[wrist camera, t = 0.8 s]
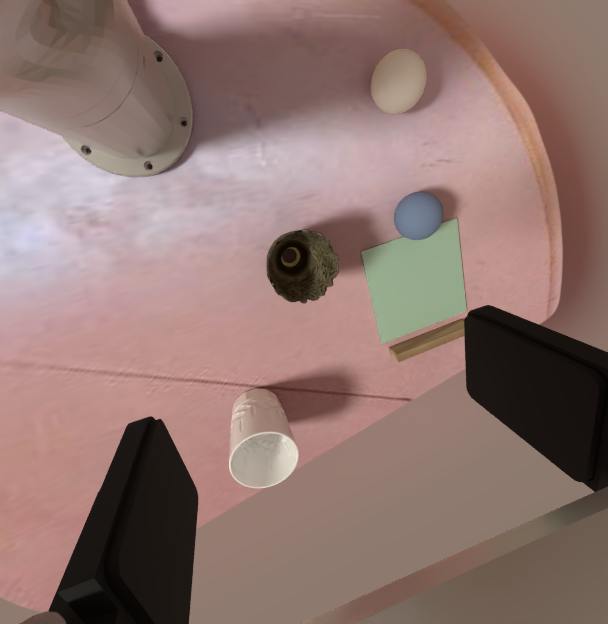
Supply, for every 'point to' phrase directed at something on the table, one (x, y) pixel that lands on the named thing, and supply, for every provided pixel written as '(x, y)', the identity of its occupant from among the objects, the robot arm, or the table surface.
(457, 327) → the stop rail
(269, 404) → the white cup
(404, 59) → the cream ball
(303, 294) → the cup
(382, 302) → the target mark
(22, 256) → the table surface
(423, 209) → the object ball
